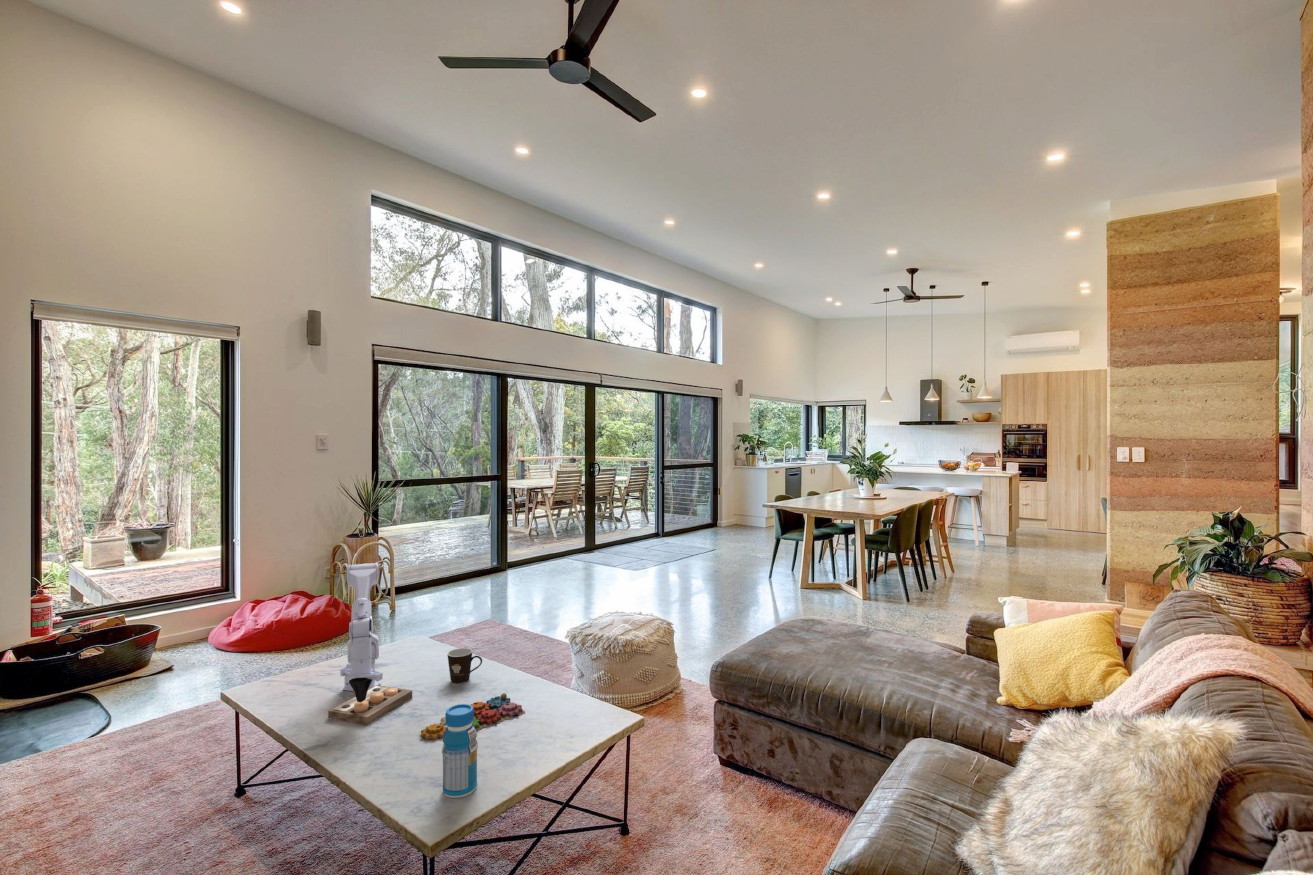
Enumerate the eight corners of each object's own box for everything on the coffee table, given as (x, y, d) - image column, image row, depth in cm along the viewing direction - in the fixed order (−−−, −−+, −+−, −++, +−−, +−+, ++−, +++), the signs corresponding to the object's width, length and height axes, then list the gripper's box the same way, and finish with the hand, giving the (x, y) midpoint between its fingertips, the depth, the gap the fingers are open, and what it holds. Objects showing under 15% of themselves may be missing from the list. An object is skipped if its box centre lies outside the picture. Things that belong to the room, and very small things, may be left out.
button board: (328, 718, 186) (328, 709, 186) (375, 692, 205) (375, 683, 205) (367, 725, 182) (367, 716, 182) (412, 697, 201) (412, 689, 201)
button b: (367, 703, 192) (367, 696, 192) (376, 698, 196) (376, 691, 196) (377, 704, 191) (377, 698, 191) (386, 699, 194) (386, 692, 194)
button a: (351, 712, 185) (351, 705, 185) (361, 706, 189) (361, 699, 189) (361, 714, 184) (361, 706, 184) (371, 708, 188) (371, 701, 188)
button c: (381, 698, 198) (381, 692, 198) (390, 693, 202) (390, 687, 202) (391, 700, 197) (391, 693, 197) (400, 695, 201) (400, 688, 201)
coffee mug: (442, 681, 214) (442, 654, 214) (460, 673, 221) (460, 646, 221) (466, 688, 208) (466, 659, 208) (483, 679, 216) (483, 651, 216)
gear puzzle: (430, 750, 168) (430, 735, 168) (408, 729, 180) (408, 716, 180) (527, 714, 190) (527, 701, 190) (502, 698, 202) (502, 686, 202)
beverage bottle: (448, 803, 143) (447, 720, 143) (437, 786, 150) (437, 707, 150) (482, 791, 148) (482, 710, 148) (471, 775, 155) (470, 698, 155)
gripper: (332, 659, 185) (332, 703, 185) (370, 664, 181) (370, 709, 181) (350, 651, 192) (350, 693, 192) (387, 656, 188) (387, 699, 188)
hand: (361, 700), depth 187 cm, fingers closed
